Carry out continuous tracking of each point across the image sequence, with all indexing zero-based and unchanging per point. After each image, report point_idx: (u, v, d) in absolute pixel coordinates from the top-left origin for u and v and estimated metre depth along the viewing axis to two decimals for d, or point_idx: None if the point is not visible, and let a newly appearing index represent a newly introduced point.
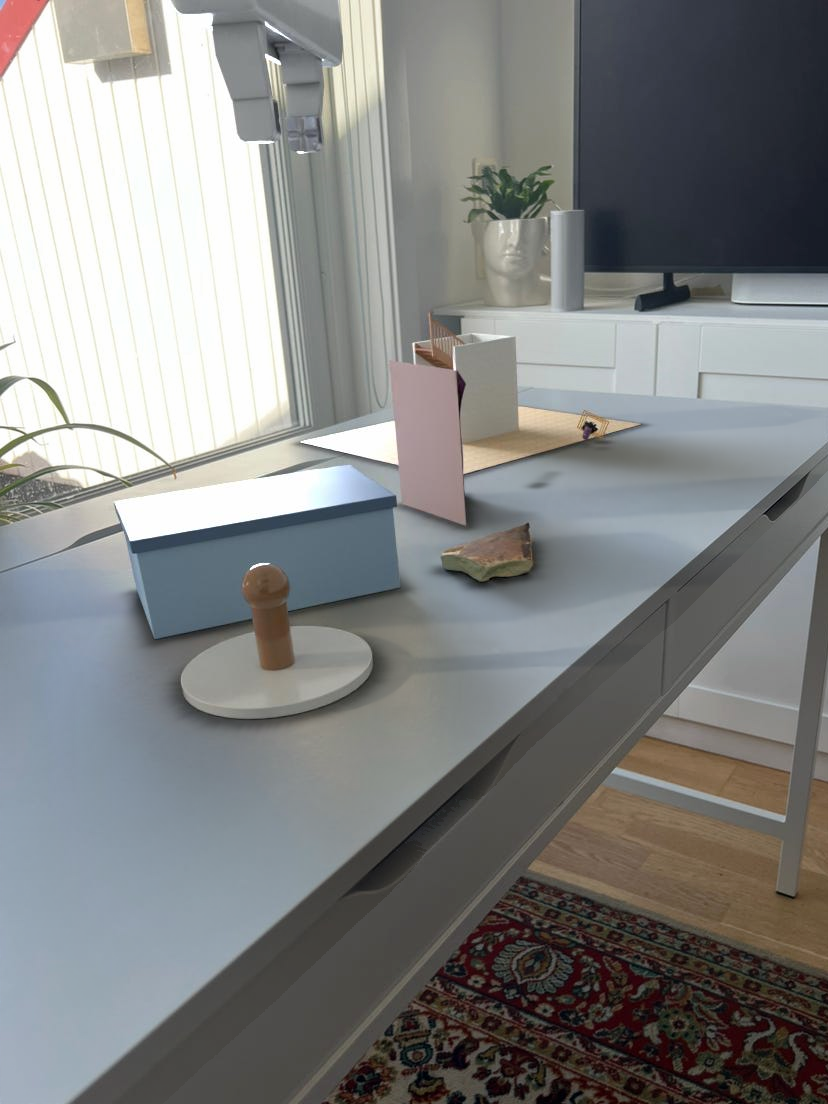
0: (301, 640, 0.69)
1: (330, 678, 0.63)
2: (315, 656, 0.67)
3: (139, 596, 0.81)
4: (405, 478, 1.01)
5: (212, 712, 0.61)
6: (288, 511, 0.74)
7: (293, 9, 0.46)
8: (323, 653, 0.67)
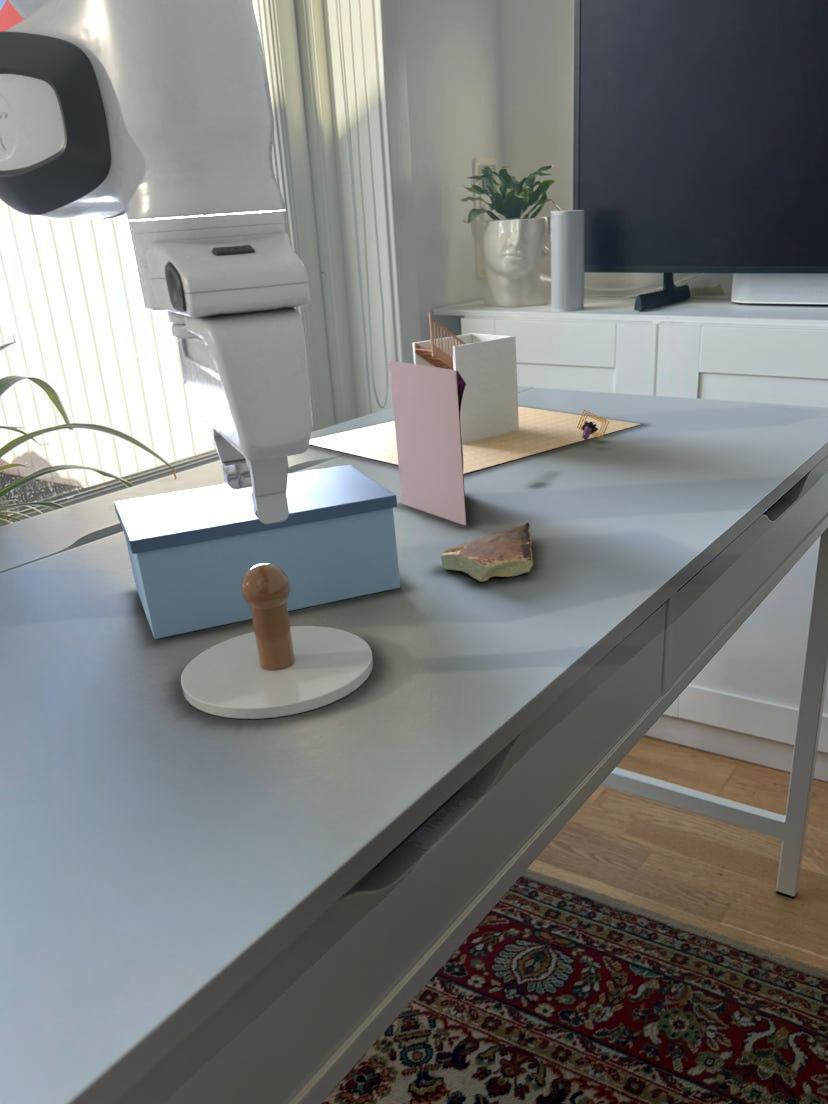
0: (301, 640, 0.69)
1: (330, 678, 0.63)
2: (315, 656, 0.67)
3: (139, 596, 0.81)
4: (405, 478, 1.01)
5: (212, 712, 0.61)
6: None
7: None
8: (323, 653, 0.67)
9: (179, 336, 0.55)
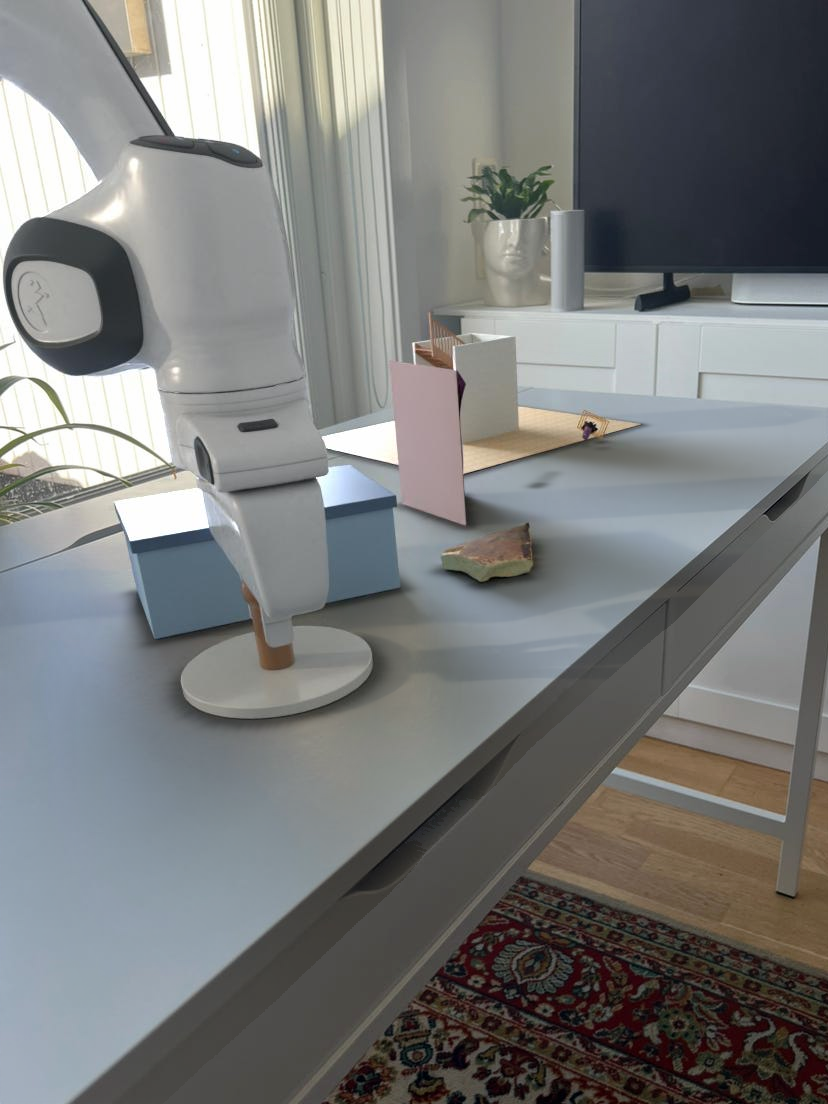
0: (301, 640, 0.69)
1: (330, 678, 0.63)
2: (315, 656, 0.67)
3: (139, 596, 0.81)
4: (405, 478, 1.01)
5: (212, 712, 0.61)
6: None
7: None
8: (323, 653, 0.67)
9: (204, 490, 0.59)
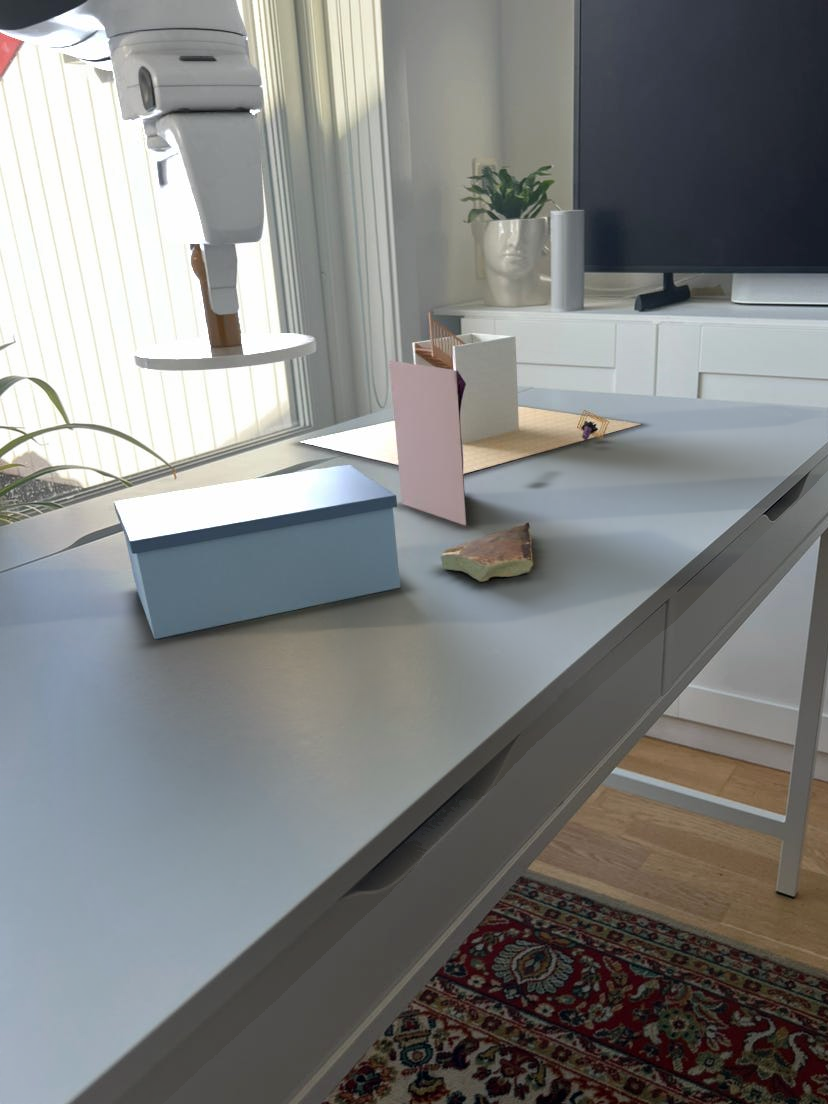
0: (251, 337, 0.73)
1: (273, 347, 0.67)
2: (262, 341, 0.71)
3: (139, 596, 0.81)
4: (405, 478, 1.01)
5: (161, 367, 0.65)
6: (288, 511, 0.74)
7: None
8: (270, 340, 0.71)
9: (152, 147, 0.63)
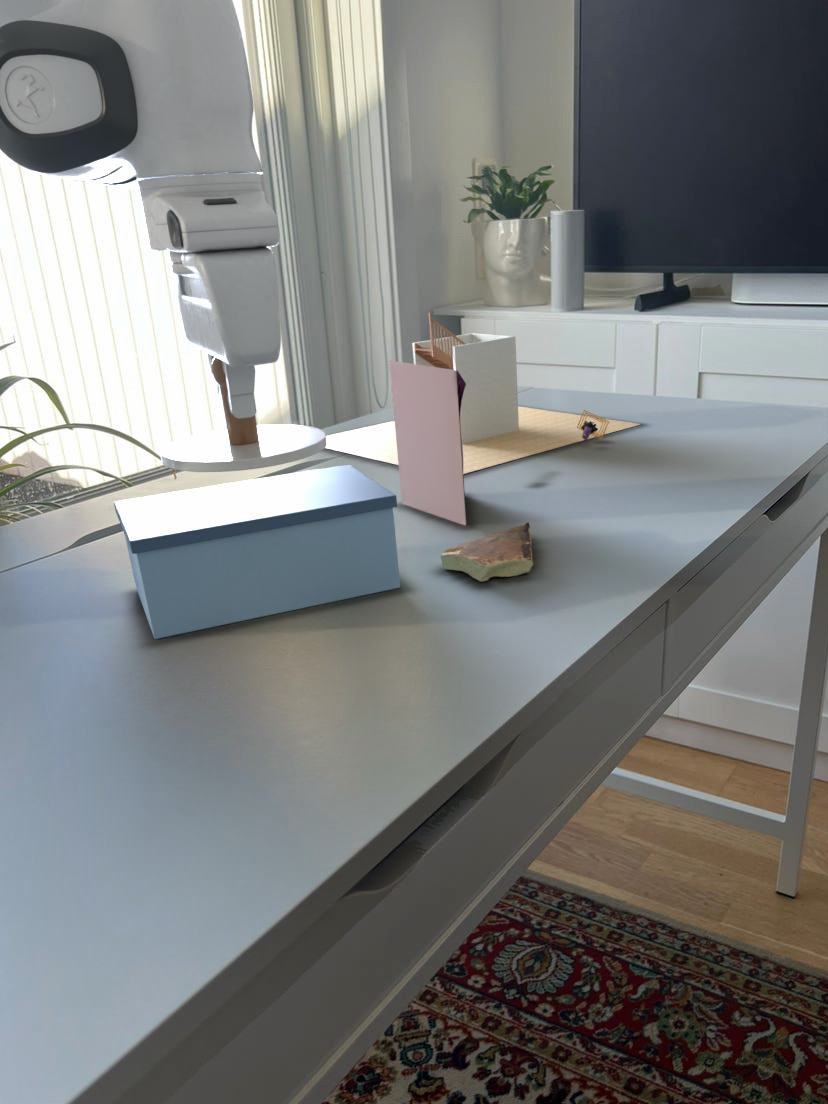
0: (266, 431, 0.80)
1: (288, 446, 0.74)
2: (277, 437, 0.77)
3: (139, 596, 0.81)
4: (405, 478, 1.01)
5: (186, 469, 0.72)
6: (288, 511, 0.74)
7: None
8: (284, 436, 0.77)
9: (177, 272, 0.69)
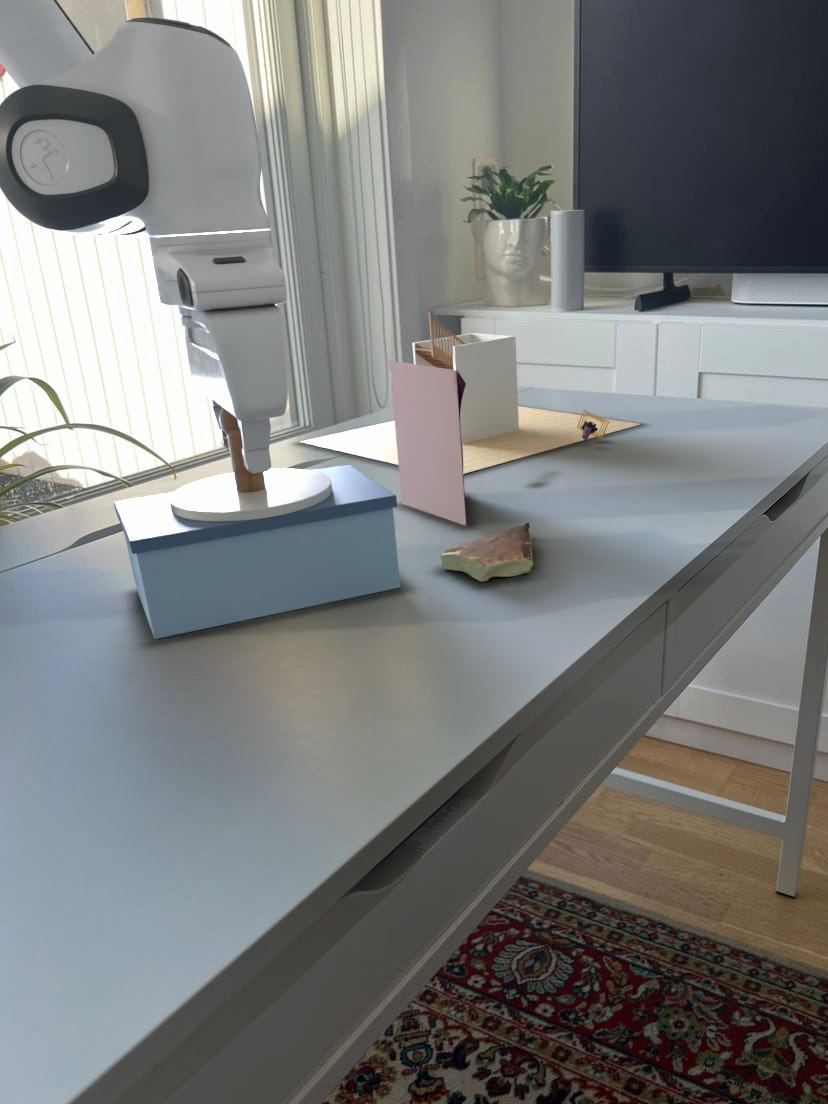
0: (272, 476, 0.81)
1: (294, 495, 0.75)
2: (283, 484, 0.79)
3: (139, 596, 0.81)
4: (405, 478, 1.01)
5: (195, 518, 0.73)
6: None
7: None
8: (290, 482, 0.79)
9: (186, 325, 0.71)
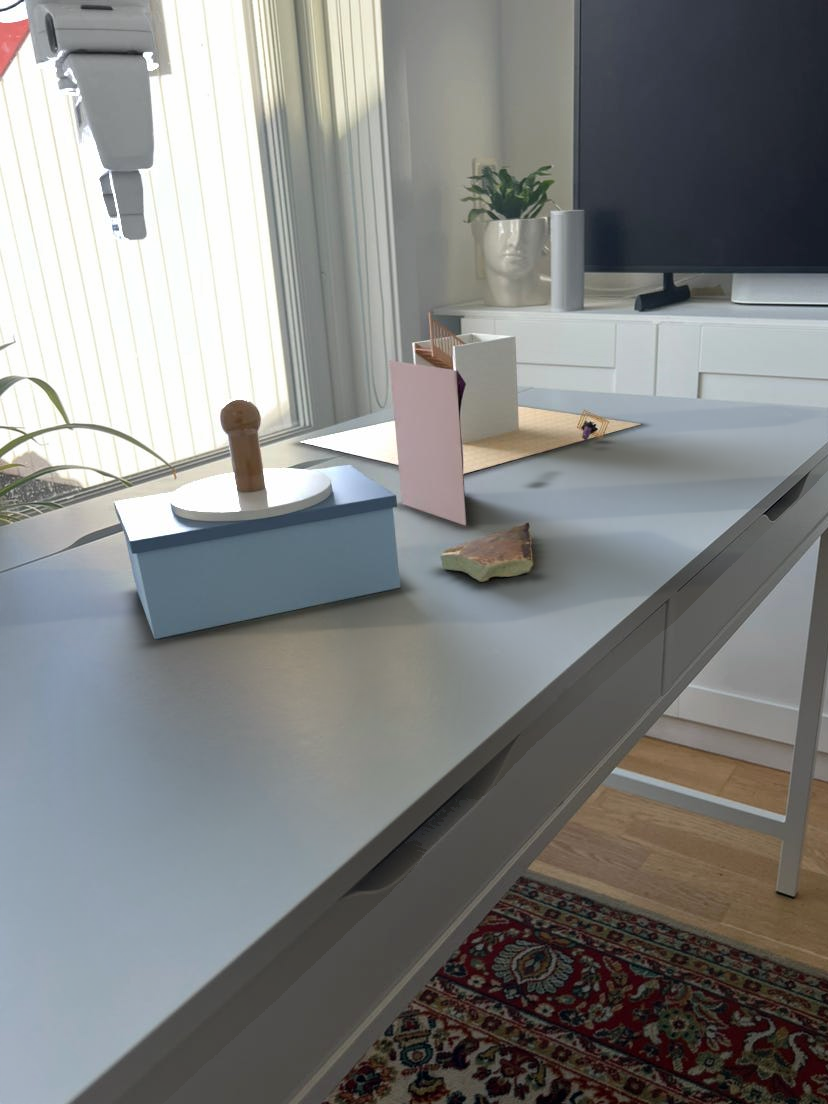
0: (272, 476, 0.81)
1: (294, 495, 0.75)
2: (283, 484, 0.79)
3: (139, 596, 0.81)
4: (405, 478, 1.01)
5: (195, 518, 0.73)
6: None
7: None
8: (290, 482, 0.79)
9: (63, 87, 0.72)
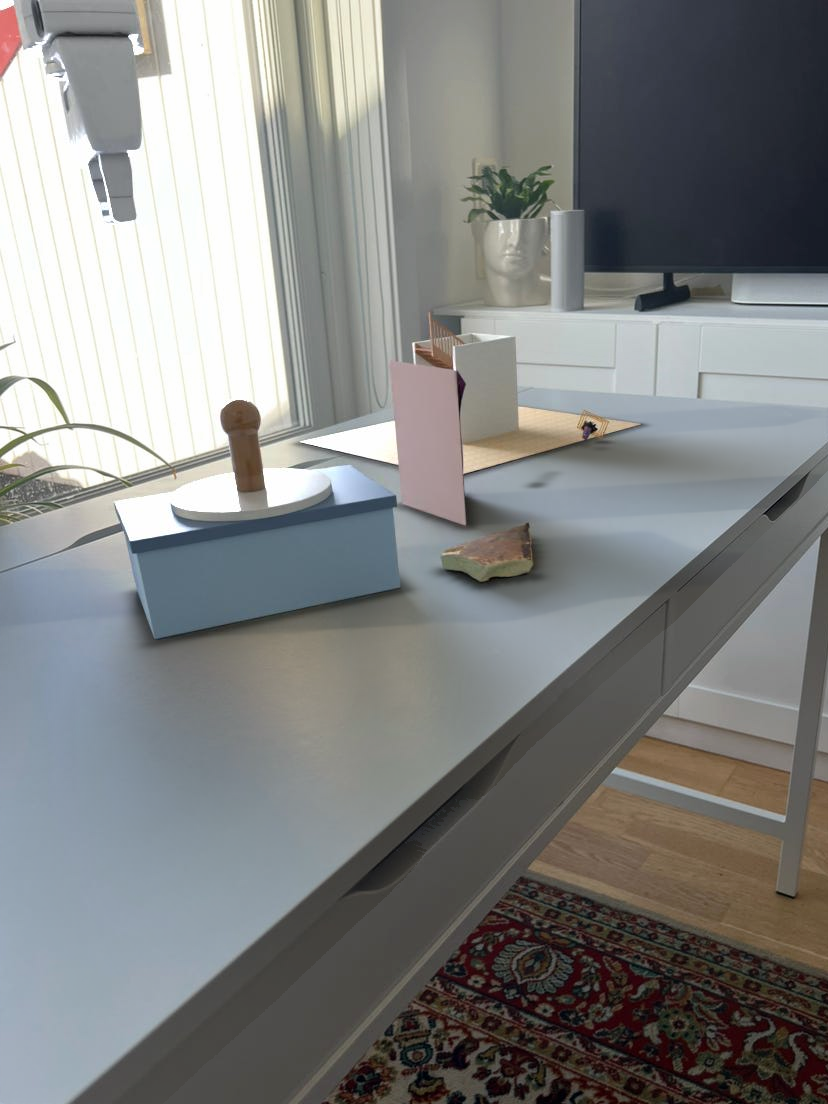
0: (272, 476, 0.81)
1: (294, 495, 0.75)
2: (283, 484, 0.79)
3: (139, 596, 0.81)
4: (405, 478, 1.01)
5: (195, 518, 0.73)
6: None
7: None
8: (290, 482, 0.79)
9: (50, 72, 0.72)
